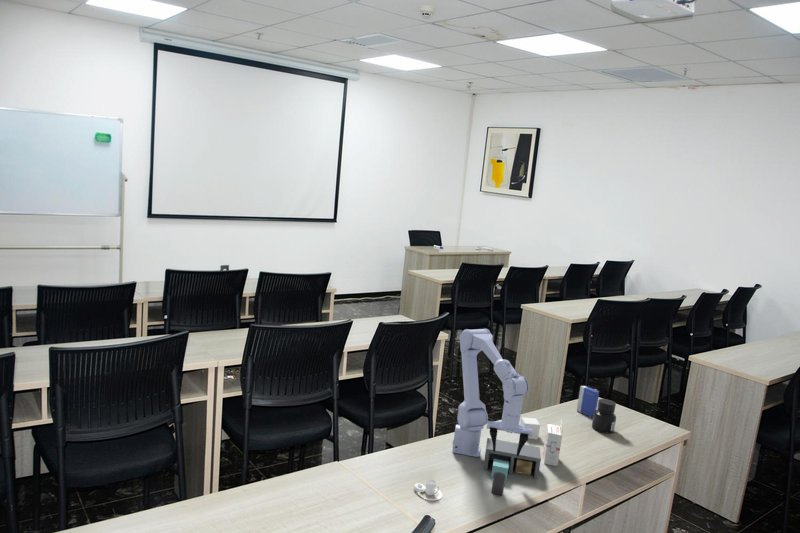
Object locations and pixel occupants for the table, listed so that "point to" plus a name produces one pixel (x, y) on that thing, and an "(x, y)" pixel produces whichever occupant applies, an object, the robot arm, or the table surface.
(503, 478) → the block
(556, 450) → the ink cartridge box
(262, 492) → the table surface
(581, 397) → the walkman
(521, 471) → the ochre block
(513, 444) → the cubby shelf
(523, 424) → the white cube
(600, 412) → the ink bottle
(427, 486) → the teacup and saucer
